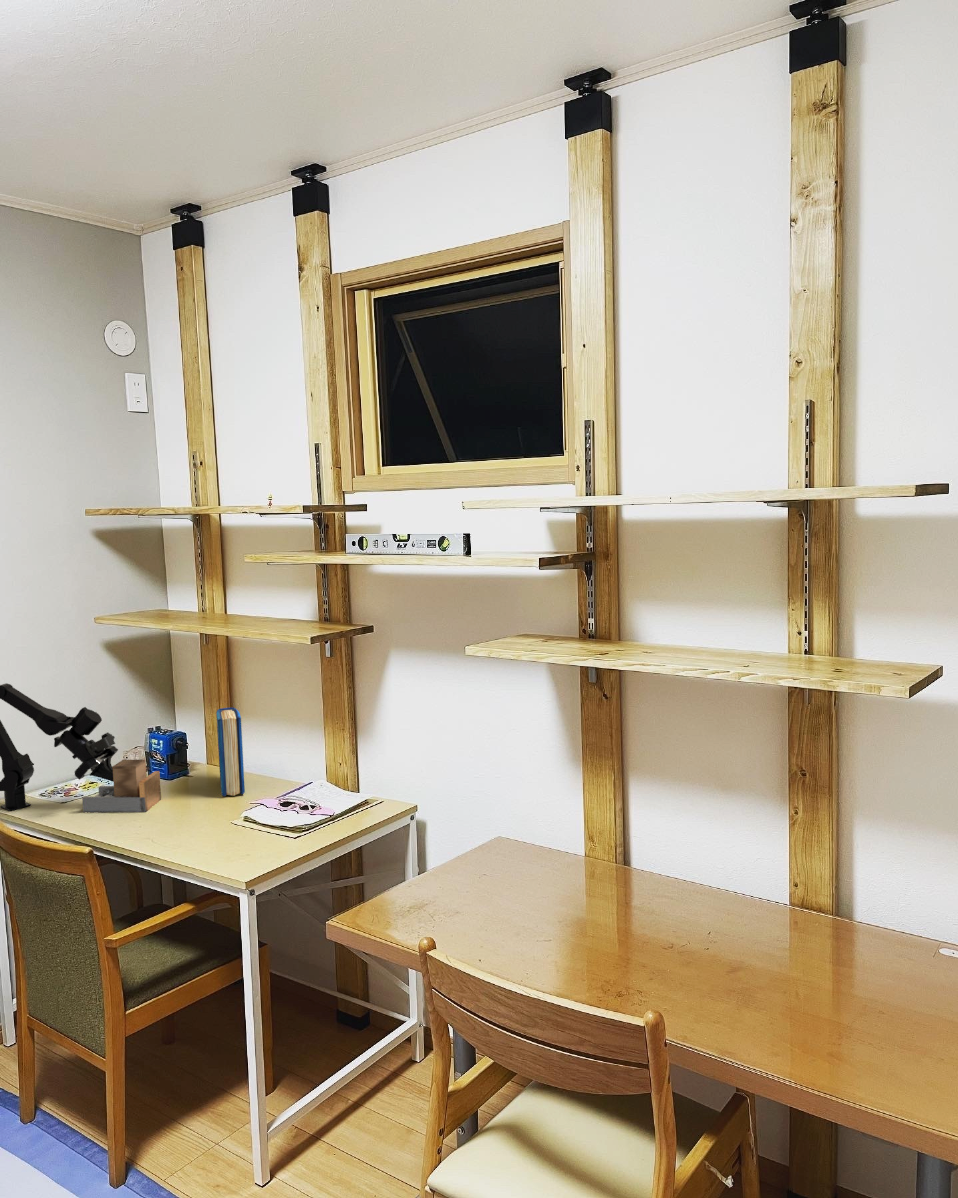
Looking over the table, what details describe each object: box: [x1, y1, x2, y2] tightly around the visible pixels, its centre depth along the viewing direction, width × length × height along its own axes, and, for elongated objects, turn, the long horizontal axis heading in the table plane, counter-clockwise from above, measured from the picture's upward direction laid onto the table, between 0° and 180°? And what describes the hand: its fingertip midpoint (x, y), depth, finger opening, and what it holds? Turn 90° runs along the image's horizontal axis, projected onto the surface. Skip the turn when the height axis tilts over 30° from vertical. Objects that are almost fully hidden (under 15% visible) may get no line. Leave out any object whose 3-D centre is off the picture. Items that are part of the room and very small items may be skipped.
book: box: [216, 707, 246, 797], centre depth 305 cm, size 22×7×25 cm, turn 17°
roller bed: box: [82, 770, 162, 814], centre depth 290 cm, size 19×12×9 cm, turn 87°
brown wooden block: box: [112, 759, 147, 796], centre depth 290 cm, size 7×8×10 cm
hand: (117, 780), depth 289 cm, fingers closed
